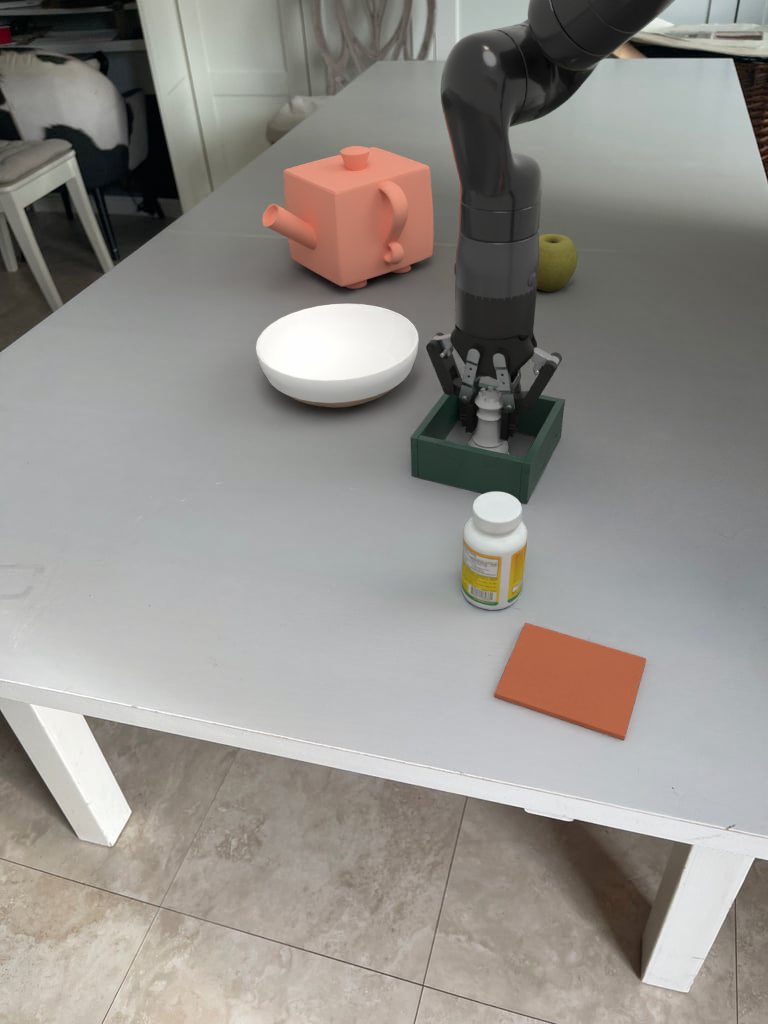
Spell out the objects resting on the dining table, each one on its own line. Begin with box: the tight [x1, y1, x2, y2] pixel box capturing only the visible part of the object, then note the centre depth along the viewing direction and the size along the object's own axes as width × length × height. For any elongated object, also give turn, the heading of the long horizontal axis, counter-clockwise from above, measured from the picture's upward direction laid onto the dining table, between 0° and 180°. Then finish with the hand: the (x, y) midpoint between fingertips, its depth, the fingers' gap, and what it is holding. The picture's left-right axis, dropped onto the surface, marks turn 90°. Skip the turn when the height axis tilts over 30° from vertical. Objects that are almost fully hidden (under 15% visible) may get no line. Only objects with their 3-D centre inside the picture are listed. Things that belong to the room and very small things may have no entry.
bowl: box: [255, 303, 420, 408], centre depth 98 cm, size 20×20×6 cm
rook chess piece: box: [467, 385, 510, 455], centre depth 84 cm, size 4×4×8 cm
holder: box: [409, 382, 566, 505], centre depth 85 cm, size 13×13×5 cm
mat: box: [493, 622, 647, 741], centre depth 63 cm, size 10×8×1 cm
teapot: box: [262, 145, 435, 290], centre depth 120 cm, size 25×23×18 cm
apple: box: [537, 233, 579, 293], centre depth 117 cm, size 8×8×7 cm
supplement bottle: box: [460, 492, 528, 611], centre depth 68 cm, size 5×5×10 cm
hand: (488, 432), depth 85 cm, fingers closed on rook chess piece, 3 cm apart
